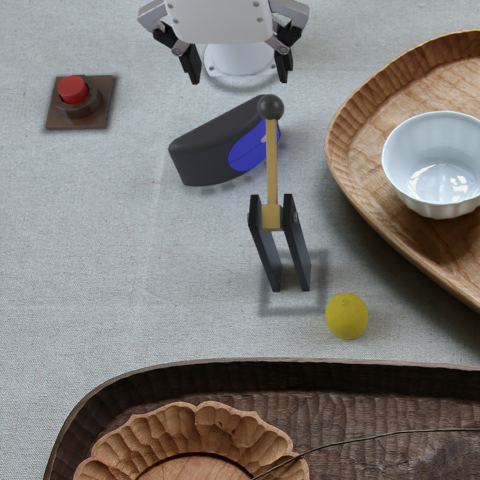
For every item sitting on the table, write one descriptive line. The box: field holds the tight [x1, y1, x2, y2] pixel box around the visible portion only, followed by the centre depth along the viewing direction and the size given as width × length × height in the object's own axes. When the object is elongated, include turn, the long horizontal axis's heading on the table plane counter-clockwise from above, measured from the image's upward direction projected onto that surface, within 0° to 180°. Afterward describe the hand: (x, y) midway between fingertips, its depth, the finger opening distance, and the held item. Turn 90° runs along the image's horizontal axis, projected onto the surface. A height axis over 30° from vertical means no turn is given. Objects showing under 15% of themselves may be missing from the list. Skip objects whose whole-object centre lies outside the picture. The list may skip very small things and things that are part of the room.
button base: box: [44, 74, 115, 131], centre depth 124 cm, size 10×9×2 cm
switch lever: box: [257, 93, 285, 233], centre depth 97 cm, size 16×3×3 cm, turn 0°
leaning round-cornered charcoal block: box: [167, 93, 282, 188], centre depth 114 cm, size 16×5×9 cm, turn 123°
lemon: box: [324, 291, 369, 341], centre depth 104 cm, size 6×6×8 cm
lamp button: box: [58, 74, 88, 104], centre depth 122 cm, size 4×4×2 cm
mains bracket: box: [246, 192, 312, 293], centre depth 103 cm, size 9×8×17 cm
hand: (241, 74), depth 88 cm, fingers open, 9 cm apart
